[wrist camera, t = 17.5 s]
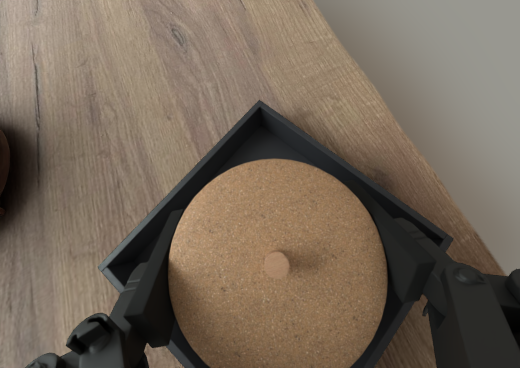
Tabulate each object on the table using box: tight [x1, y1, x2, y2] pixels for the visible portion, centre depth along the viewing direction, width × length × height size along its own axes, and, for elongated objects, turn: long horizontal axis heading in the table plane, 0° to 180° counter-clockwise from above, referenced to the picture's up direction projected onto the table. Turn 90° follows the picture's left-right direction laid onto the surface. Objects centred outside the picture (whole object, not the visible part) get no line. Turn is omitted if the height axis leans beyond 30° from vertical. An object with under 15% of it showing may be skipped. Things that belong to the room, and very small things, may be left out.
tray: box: [98, 100, 453, 368], centre depth 16 cm, size 18×18×3 cm
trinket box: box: [168, 159, 388, 368], centre depth 13 cm, size 11×11×9 cm
